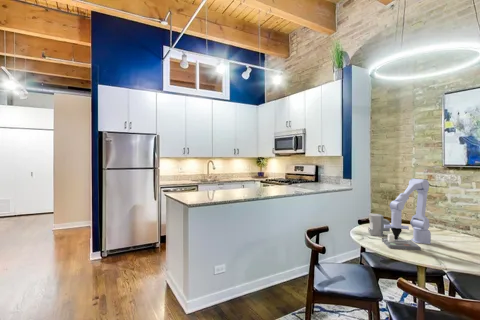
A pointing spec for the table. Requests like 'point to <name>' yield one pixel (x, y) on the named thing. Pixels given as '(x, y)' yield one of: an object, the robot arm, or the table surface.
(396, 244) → the panel
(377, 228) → the circuit breaker
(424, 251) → the table surface
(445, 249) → the table surface
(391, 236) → the handle
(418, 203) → the robot arm
